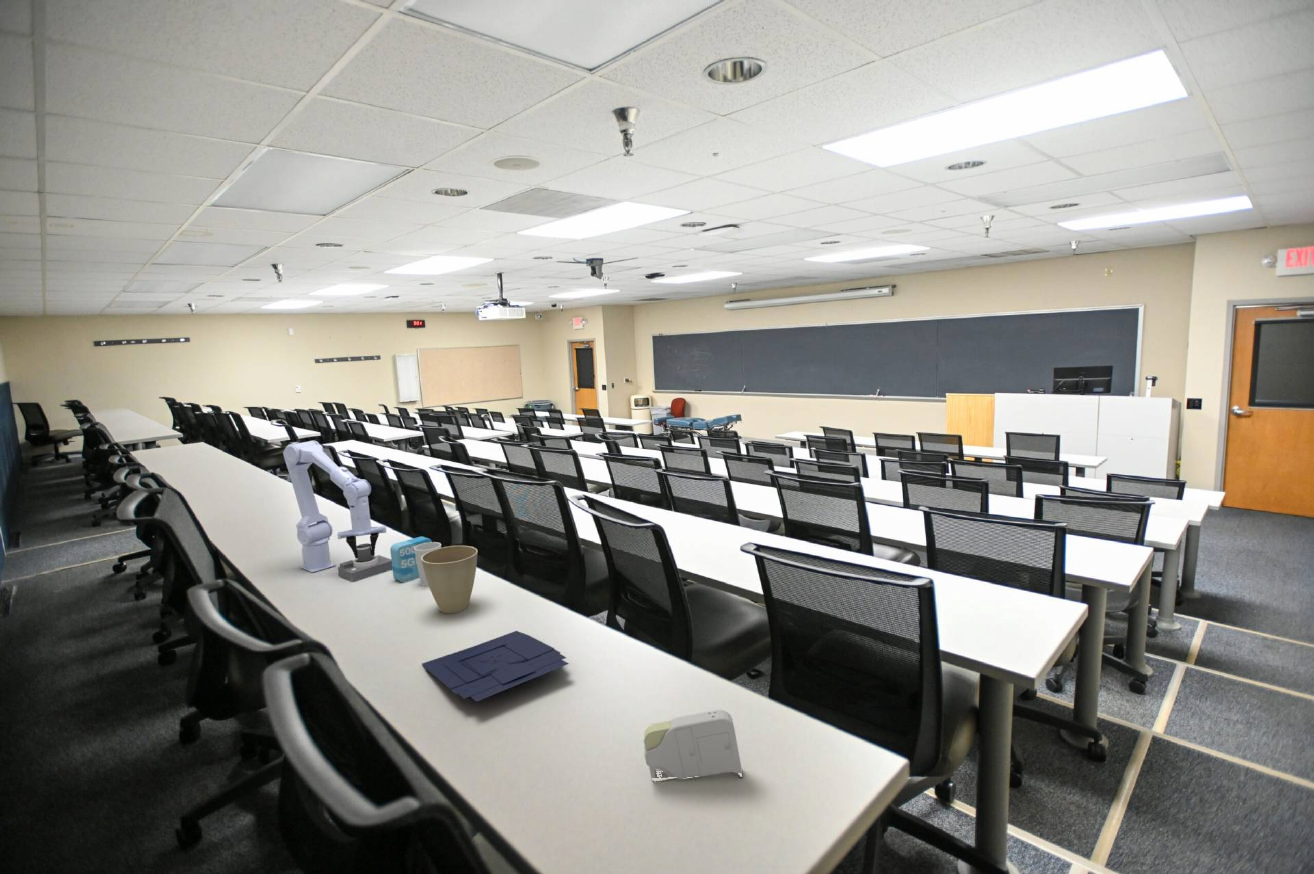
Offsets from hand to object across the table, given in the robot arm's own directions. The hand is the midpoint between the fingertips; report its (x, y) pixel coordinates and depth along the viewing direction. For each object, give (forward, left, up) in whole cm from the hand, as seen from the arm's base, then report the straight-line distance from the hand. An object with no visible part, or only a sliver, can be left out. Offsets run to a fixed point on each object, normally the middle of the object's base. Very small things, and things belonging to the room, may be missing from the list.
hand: (365, 556), depth 201 cm
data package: (+18, +7, -6) cm, 20 cm away
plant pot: (+52, 0, -6) cm, 52 cm away
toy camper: (+146, -16, -6) cm, 147 cm away
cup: (+28, +7, -6) cm, 29 cm away
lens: (0, 0, -2) cm, 2 cm away
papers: (+91, -14, -6) cm, 92 cm away
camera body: (0, 0, -6) cm, 6 cm away
